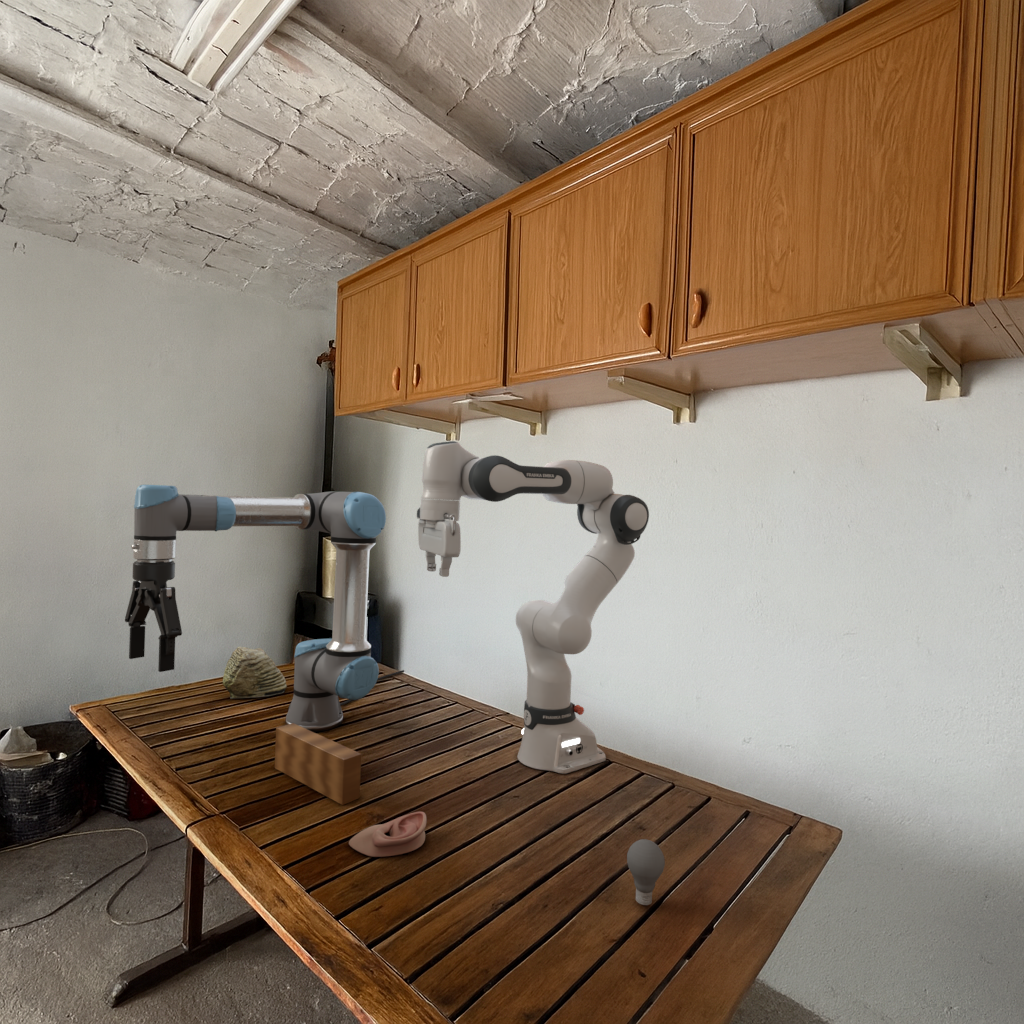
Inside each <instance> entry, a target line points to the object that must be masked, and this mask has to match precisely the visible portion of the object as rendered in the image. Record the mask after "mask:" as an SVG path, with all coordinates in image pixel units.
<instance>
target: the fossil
mask: <svg viewBox="0 0 1024 1024" xmlns="http://www.w3.org/2000/svg"><path fill="white" fill-rule="evenodd" d="M222 676H223V677H222V685H223V687H224V688H225V690H226V691H228V693H229V698H230V699H250V698H264V697H271V696H275V695H281V694H284V693H285V691H286V689H287V687H288V686H287V680H286V678H285V676H284V674H283V673H282V672H281V669H279V668H278V667H277V665H276V663H275V662H274V660H273V659H272V658H271V657H270V656H269V655H268V654H267V653H266V652H265V650H264V649H263V648H260V647H258V648H251V647H247V646H246V647H245V646H238V647H237V648H236V649H235V650H233V651H232V653H231V656H230V657H229V659H228V660H227V663H226V666H225V668H224V671H223V675H222Z"/></svg>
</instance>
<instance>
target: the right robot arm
mask: <svg viewBox="0 0 1024 1024" xmlns="http://www.w3.org/2000/svg"><path fill="white" fill-rule="evenodd" d="M422 462H423V463H422V470H421V482H422V487H423V488H422V492H421V497H420V504H419V505H420V506H419V507H418V508H417V510H416V519H418V523H417V525H418V526H417V535H418V536H417V537H418V538H417V539H418V540H417V541H418V547H419V549H420V550H421V551H424V552H425V559H426V571H428V572H436V571H437V563H436V556H440V561H441V563H440V567H439V571H438V572H439V576H440V577H442V578H447V577H450V568H451V565H452V562H453V558H459V557H460V555H461V549H462V548H461V547H462V545H461V544H462V543H461V542H462V541H461V526H460V524H459V523H458V522H459V521H460V516H461V515H460V514H461V498H462V497H464V498H466V499H468V500H475V501H477V500H478V501H487V502H492V503H493V502H494V503H498V502H502V501H505V500H507V499H509V498H511V497H513V496H516V495H519V494H521V495H522V494H523V495H525V494H528V495H529V494H532V495H542V496H543V497H544V499H545V500H547V501H549V502H553V503H557V504H563V505H564V504H565V505H577V508H576V515H577V520H578V523H579V525H580V526H581V527H582V529H584V530H585V531H587V532H589V533H591V534H596V535H597V537H596V541H595V543H594V544H593V546H592V547H591V548H590V550H589V551H587V552H586V553H585V555H584V556H583V557H582V558H581V559H580V560H579V562H578V563H576V565H574V567H573V568H572V569H571V570H570V571H569V572H568V573H567V575H566V576H565V578H564V582H563V583H564V588H563V591H562V593H561V595H560V596H559V598H558V599H557V601H555V602H551V601H548V600H545V599H533V600H532V599H531V600H527V601H525V602H524V603H522V604H521V605H520V606H519V608H518V609H517V611H516V614H515V624H516V628H517V630H518V632H519V634H520V637H521V641H522V642H521V643H522V646H523V652H524V657H525V664H526V698H525V700H524V705H523V706H524V707H523V728H522V729H521V735H522V737H521V741H520V742H521V743H520V746H519V749H518V751H517V752H518V753H517V756H516V758H517V760H518V761H519V762H520V763H521V764H522V765H524V766H527V767H529V768H532V769H535V770H539V771H540V770H541V771H549V772H550V771H551V772H555V773H558V774H563V775H566V774H570V773H572V772H576V771H578V770H581V769H586V768H588V767H591V766H594V765H598V764H600V763H603V762H606V761H607V759H606V758H607V755H606V754H605V752H604V751H603V750H602V749H601V748H599V747H598V744H597V743H598V742H597V737H596V735H595V732H594V731H593V730H592V729H591V728H590V727H588V726H587V725H586V724H585V723H584V722H583V721H581V720H580V719H579V718H578V717H577V715H579V716H582V715H583V714H584V713H585V708H584V707H583V706H581V705H579V704H575V703H574V702H571V701H572V700H571V699H572V697H571V696H572V677H573V675H572V671H571V668H570V666H569V664H568V662H567V660H566V656H565V655H579V654H580V653H582V652H584V651H585V650H586V649H587V647H588V646H589V645H590V642H591V639H592V633H593V630H592V622H593V619H594V616H595V614H596V612H597V610H598V609H599V607H600V606H601V604H602V603H603V602H604V600H605V599H606V598H607V597H608V595H610V593H611V592H612V590H613V589H614V588H615V587H616V586H617V585H618V583H619V582H620V581H621V580H622V578H623V577H624V575H626V573H627V571H628V569H629V568H630V567H631V565H632V562H633V561H634V559H635V555H636V551H635V547H634V546H633V544H635V543H637V542H638V541H639V540H640V539H641V536H642V534H643V533H644V532H645V530H646V528H647V526H648V523H649V518H650V510H649V507H648V504H647V503H646V502H645V501H644V500H643V499H642V498H639V497H638V496H635V495H633V494H621V493H615V491H614V490H613V486H614V479H613V478H614V477H613V475H612V473H611V471H610V470H609V468H607V467H606V466H604V465H602V464H598V463H595V462H590V461H586V460H578V459H577V460H575V459H561V460H560V459H559V460H554V461H553V460H552V461H549V462H547V463H546V464H545V465H544V466H535V465H521V464H517V463H516V462H514V461H512V460H510V459H508V458H506V457H504V456H503V455H495V454H494V455H489V456H485V457H479V456H477V455H475V454H473V453H471V451H469V450H467V449H465V447H463V446H462V444H460V442H458V441H454V440H451V441H442V442H435V443H431V444H429V445H428V446H427V447H426V449H425V451H424V455H423V461H422ZM576 714H577V715H576Z"/></svg>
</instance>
